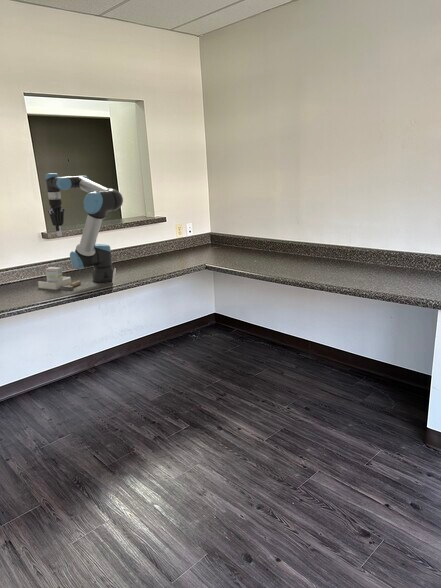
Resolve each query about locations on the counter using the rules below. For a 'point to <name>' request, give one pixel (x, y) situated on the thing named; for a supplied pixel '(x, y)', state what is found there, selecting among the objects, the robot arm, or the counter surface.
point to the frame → (55, 285)
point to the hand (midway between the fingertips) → (59, 235)
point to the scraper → (70, 286)
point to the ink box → (54, 274)
